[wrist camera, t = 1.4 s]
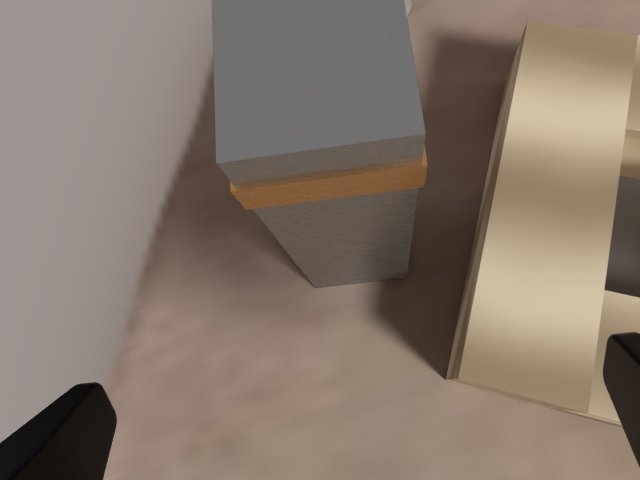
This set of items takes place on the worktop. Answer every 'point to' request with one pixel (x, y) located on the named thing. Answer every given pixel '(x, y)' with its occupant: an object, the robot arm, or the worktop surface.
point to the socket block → (557, 225)
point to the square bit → (322, 130)
